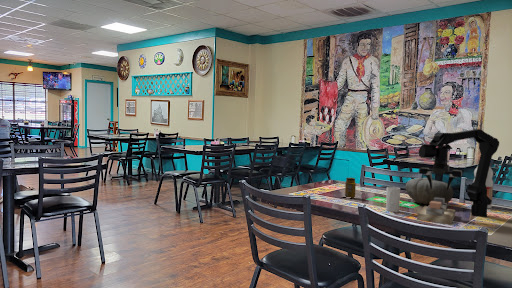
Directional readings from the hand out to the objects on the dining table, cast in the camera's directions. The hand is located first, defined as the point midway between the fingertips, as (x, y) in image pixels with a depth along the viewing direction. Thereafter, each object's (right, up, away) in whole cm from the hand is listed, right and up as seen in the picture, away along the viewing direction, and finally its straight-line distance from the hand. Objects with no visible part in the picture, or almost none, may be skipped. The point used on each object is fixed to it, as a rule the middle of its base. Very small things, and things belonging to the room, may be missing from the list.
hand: (439, 189), depth 182 cm
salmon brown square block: (-7, -8, -10) cm, 14 cm away
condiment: (-34, -10, +41) cm, 55 cm away
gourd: (+8, -12, +30) cm, 33 cm away
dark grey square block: (0, -7, 0) cm, 8 cm away
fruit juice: (+35, -13, +24) cm, 45 cm away
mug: (-21, -12, +7) cm, 26 cm away
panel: (-4, -13, -4) cm, 14 cm away
